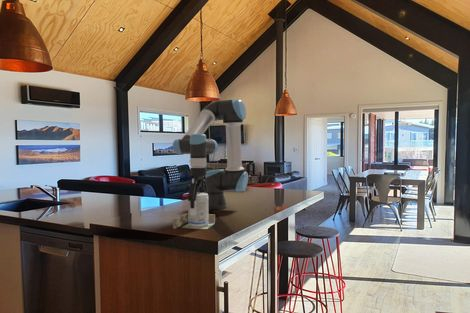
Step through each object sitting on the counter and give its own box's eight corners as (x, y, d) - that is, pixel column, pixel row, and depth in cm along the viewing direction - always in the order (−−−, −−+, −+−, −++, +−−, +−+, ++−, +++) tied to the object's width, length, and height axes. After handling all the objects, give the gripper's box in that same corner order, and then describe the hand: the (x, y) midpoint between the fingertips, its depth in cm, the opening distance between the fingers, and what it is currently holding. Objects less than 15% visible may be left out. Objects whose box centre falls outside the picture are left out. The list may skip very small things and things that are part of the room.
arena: (186, 221, 166) (186, 213, 166) (216, 222, 162) (216, 214, 162) (172, 228, 151) (172, 219, 151) (205, 230, 147) (205, 221, 147)
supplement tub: (195, 222, 162) (194, 192, 161) (212, 223, 158) (212, 193, 157) (184, 226, 153) (183, 194, 152) (202, 228, 149) (201, 195, 148)
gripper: (200, 165, 168) (200, 207, 168) (179, 168, 144) (180, 217, 144) (214, 165, 166) (214, 208, 166) (196, 168, 142) (196, 218, 142)
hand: (198, 212), depth 155 cm, fingers open, 13 cm apart
